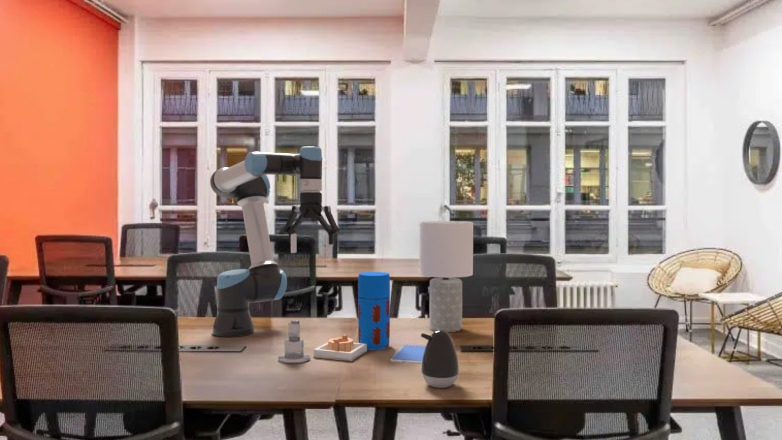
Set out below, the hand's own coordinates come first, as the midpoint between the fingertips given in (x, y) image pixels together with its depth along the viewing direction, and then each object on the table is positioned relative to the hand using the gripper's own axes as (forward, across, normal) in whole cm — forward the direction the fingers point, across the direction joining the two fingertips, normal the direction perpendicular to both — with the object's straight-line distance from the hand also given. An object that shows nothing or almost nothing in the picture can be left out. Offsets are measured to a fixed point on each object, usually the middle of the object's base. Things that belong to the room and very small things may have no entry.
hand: (311, 253), depth 210 cm
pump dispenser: (+32, +54, -28) cm, 69 cm away
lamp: (+32, +37, +41) cm, 64 cm away
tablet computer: (+32, +38, 0) cm, 50 cm away
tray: (+32, +15, -8) cm, 36 cm away
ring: (+31, +15, -8) cm, 35 cm away
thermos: (+32, +21, +6) cm, 39 cm away
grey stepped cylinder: (+32, +4, -19) cm, 37 cm away
